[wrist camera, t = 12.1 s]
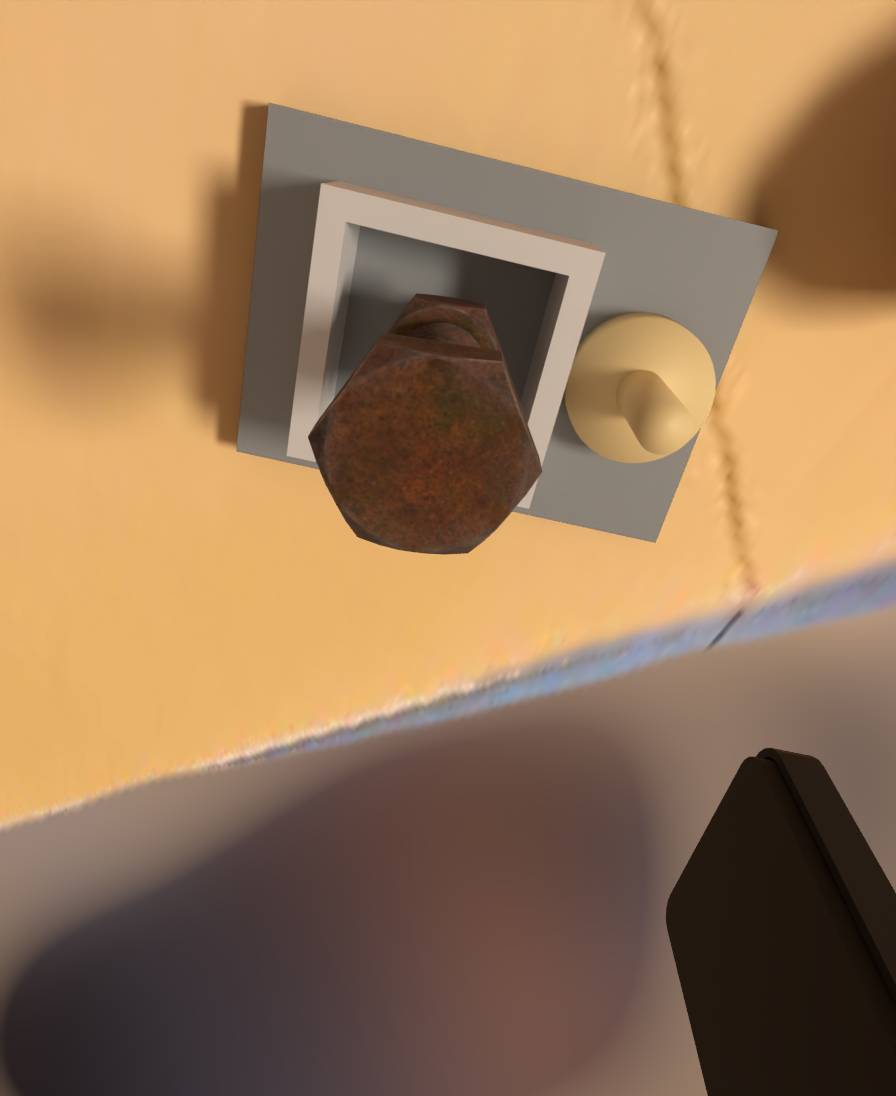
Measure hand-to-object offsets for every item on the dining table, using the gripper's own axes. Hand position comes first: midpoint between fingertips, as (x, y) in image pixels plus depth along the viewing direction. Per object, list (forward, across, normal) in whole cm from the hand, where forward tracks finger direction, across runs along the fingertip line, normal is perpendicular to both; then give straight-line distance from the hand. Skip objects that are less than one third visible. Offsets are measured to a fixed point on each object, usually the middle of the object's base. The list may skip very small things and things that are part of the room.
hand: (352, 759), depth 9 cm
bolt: (+25, 0, 0) cm, 25 cm away
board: (+26, -2, 0) cm, 26 cm away
